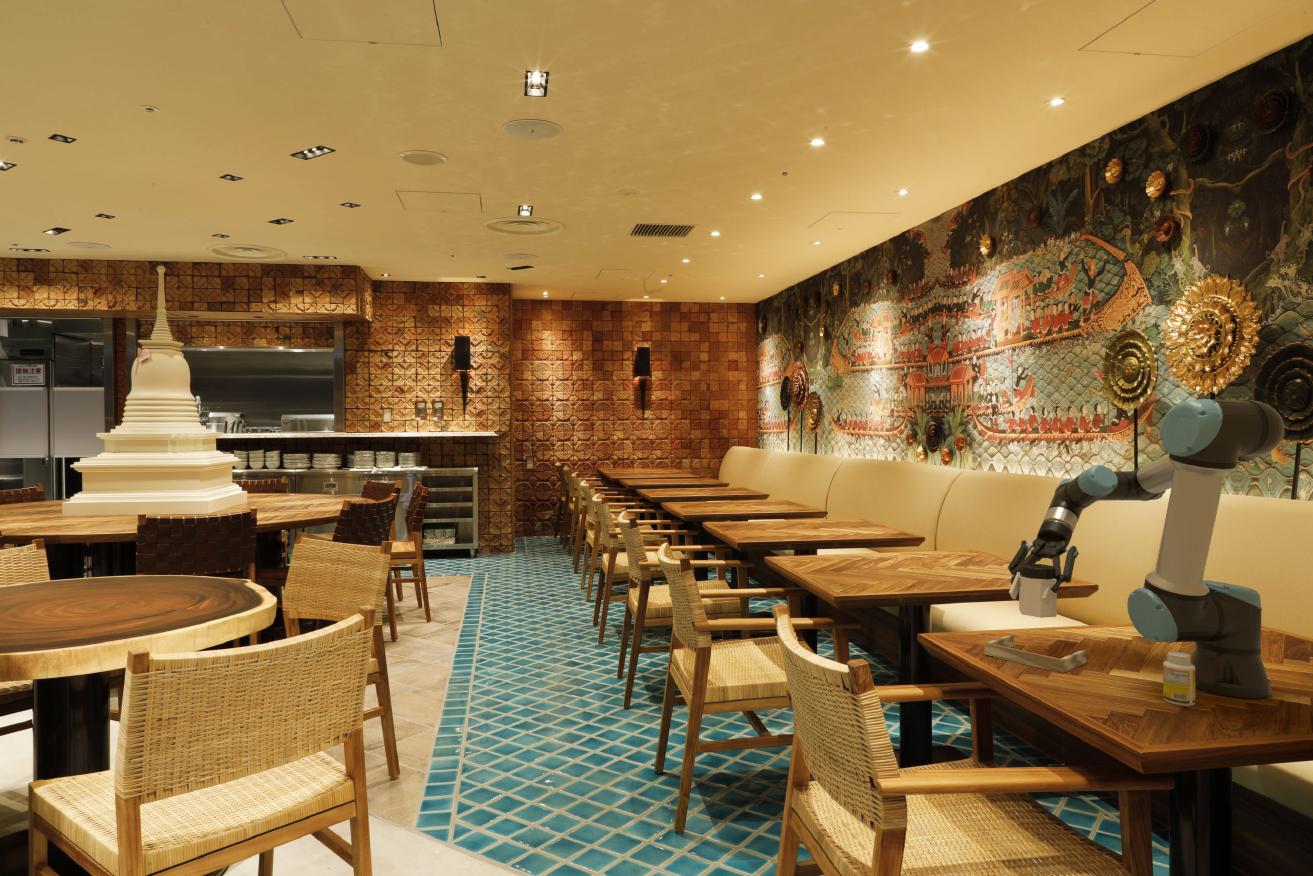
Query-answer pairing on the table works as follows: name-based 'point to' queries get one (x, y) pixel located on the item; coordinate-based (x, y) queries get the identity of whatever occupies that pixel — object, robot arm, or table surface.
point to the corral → (1032, 656)
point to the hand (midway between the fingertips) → (1028, 598)
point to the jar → (1037, 590)
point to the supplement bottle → (1179, 679)
